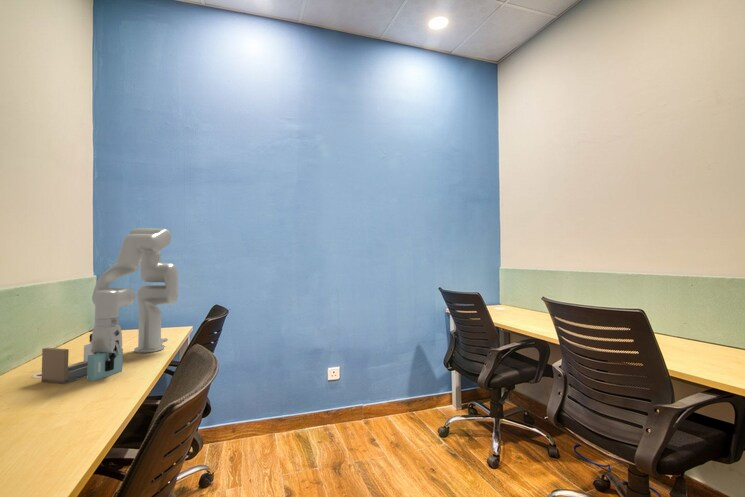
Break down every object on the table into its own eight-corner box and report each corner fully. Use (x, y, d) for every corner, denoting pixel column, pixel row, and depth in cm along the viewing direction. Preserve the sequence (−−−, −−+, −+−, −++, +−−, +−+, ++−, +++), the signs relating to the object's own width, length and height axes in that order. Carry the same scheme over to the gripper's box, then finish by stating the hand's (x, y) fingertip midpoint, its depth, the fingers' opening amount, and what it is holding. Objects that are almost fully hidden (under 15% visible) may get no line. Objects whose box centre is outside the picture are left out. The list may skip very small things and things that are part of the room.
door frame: (98, 364, 155) (98, 335, 155) (117, 365, 153) (118, 337, 153) (41, 381, 133) (42, 348, 133) (63, 383, 131) (64, 350, 131)
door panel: (115, 370, 147) (116, 347, 147) (122, 371, 146) (123, 348, 146) (86, 380, 135) (87, 355, 135) (93, 381, 134) (94, 356, 135)
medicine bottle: (96, 362, 157) (97, 334, 157) (83, 361, 158) (83, 334, 158) (111, 358, 164) (112, 331, 164) (98, 357, 165) (99, 330, 165)
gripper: (132, 321, 143) (131, 368, 143) (98, 319, 146) (97, 365, 146) (115, 325, 136) (114, 374, 135) (80, 323, 139) (78, 371, 139)
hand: (105, 369), depth 141 cm, fingers closed on door panel, 3 cm apart
